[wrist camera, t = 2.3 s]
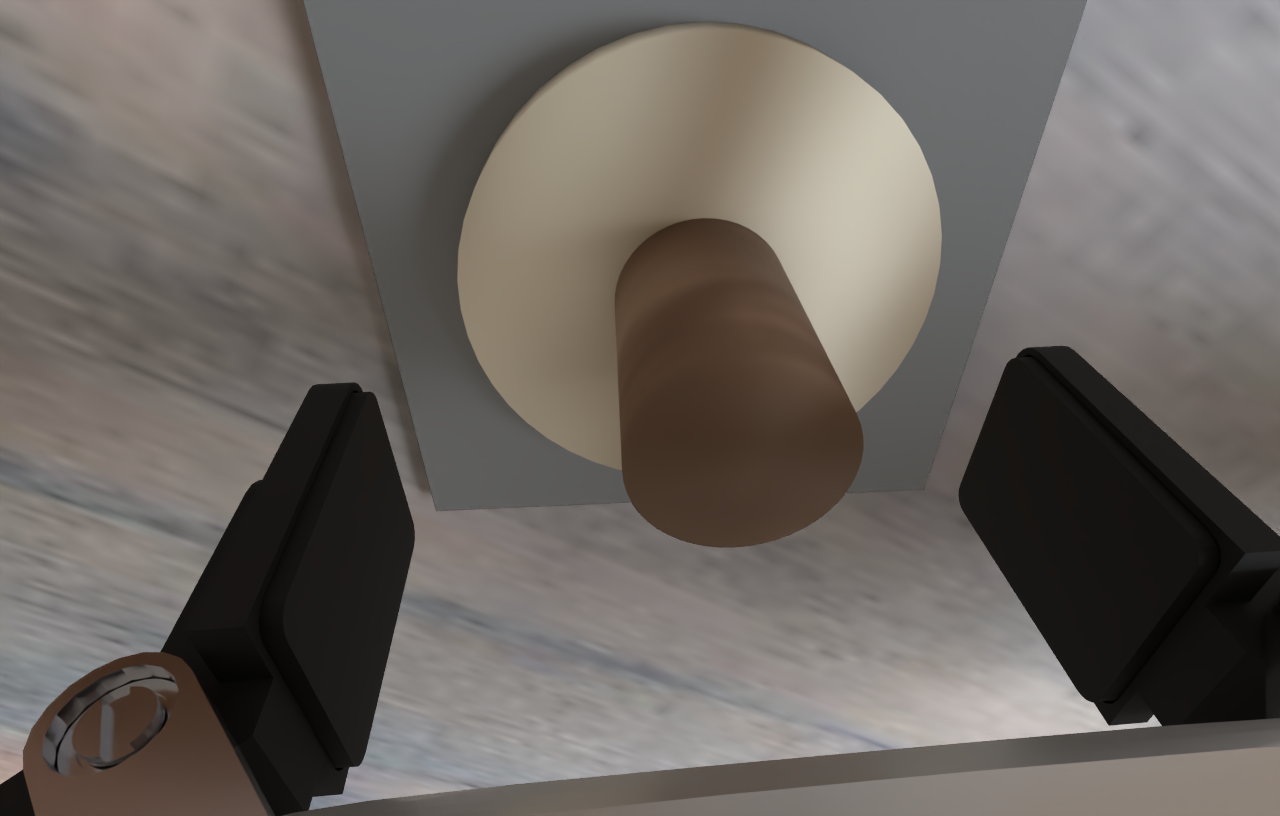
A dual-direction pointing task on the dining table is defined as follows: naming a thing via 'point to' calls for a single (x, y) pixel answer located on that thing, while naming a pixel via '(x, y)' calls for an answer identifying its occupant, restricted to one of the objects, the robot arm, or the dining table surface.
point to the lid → (703, 271)
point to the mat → (568, 30)
